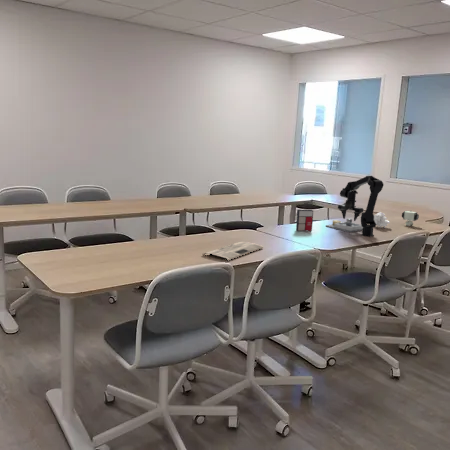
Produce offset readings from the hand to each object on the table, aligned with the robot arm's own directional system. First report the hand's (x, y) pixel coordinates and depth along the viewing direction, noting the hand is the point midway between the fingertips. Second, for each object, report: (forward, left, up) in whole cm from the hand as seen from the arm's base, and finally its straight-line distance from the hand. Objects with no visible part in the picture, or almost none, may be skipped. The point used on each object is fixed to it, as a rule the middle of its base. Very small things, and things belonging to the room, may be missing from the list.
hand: (349, 219), depth 343 cm
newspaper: (-2, +116, -8) cm, 116 cm away
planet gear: (0, 0, -6) cm, 6 cm away
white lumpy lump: (-10, -27, -7) cm, 30 cm away
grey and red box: (+14, +34, -7) cm, 37 cm away
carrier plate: (+3, 0, -7) cm, 8 cm away
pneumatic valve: (-18, -55, -7) cm, 58 cm away
